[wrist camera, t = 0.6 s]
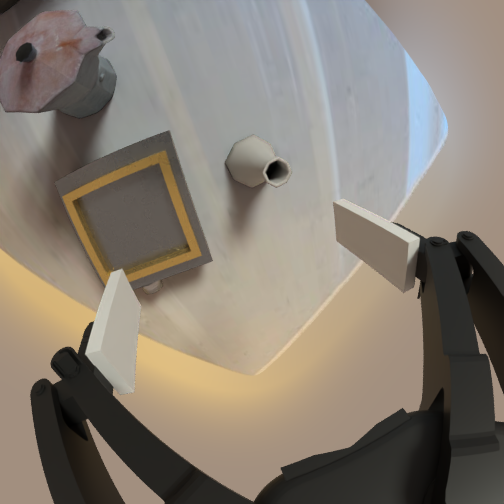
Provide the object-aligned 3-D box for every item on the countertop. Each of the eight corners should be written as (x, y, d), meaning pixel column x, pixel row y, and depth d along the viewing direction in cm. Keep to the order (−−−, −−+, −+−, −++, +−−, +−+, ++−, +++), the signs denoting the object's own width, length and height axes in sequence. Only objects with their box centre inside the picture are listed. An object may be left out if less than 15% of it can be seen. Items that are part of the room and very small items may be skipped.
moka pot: (143, 102, 29) (108, 71, 12) (43, 140, 26) (-50, 163, 9) (134, 41, 24) (103, -33, 7) (35, 81, 22) (-53, 64, 4)
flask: (215, 162, 35) (229, 173, 27) (252, 125, 34) (279, 125, 26) (250, 196, 39) (275, 217, 30) (285, 161, 38) (319, 173, 29)
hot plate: (70, 173, 30) (49, 184, 23) (169, 130, 32) (168, 130, 25) (123, 288, 39) (117, 317, 33) (211, 256, 41) (220, 281, 35)
